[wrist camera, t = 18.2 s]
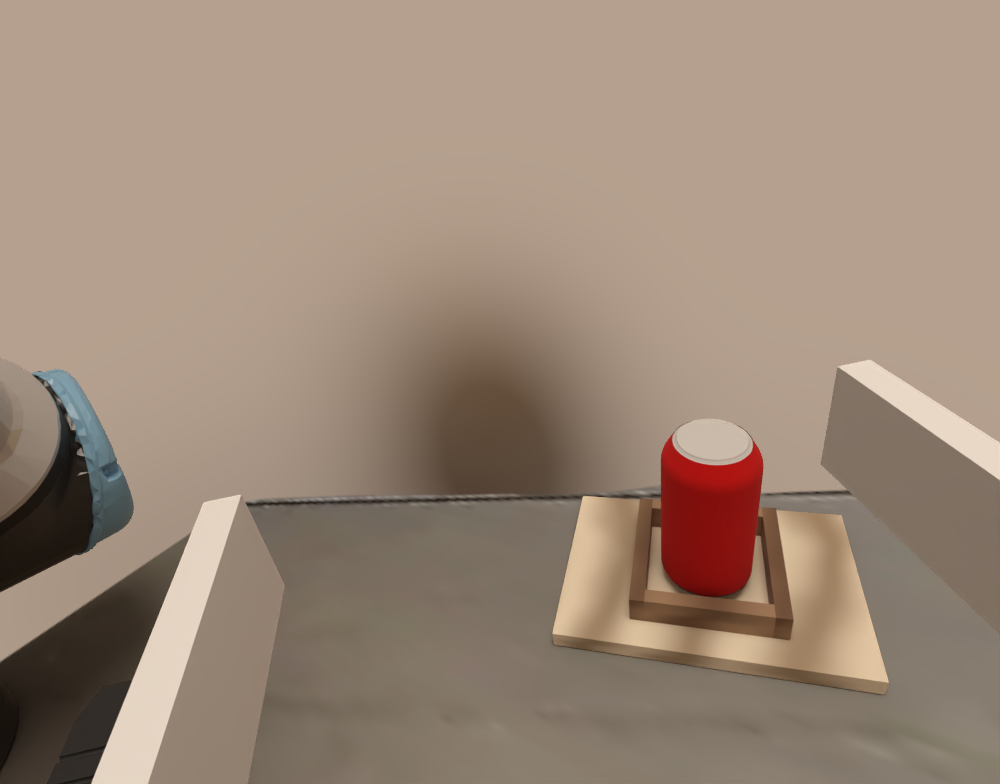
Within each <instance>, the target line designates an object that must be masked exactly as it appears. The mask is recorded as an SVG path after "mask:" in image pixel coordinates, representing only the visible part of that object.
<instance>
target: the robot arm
mask: <svg viewBox="0 0 1000 784" xmlns="http://www.w3.org/2000/svg"><path fill="white" fill-rule="evenodd" d="M821 465H822V466H823V467H824V468H825V469H826V470H827V471H829V473H830V474H832V475H833V476H834V477H835V478H836V479H837V480H838V481H839V482H840V483H841V484H842V485H843V486H844V487H845V488H846V489H847V490H848V491H849V492H850V493H852V494H853V495H854V496H855V497H856V498H857V499H858V500H859V501H860V502H861V503H862V504H863V505H864V506H865V507H866V508H867V509H868V510H869V511H870V512H871V513H873V514H874V515H875V516H876V517H877V518H878V519H879V520H880V521H881V522H882V523H883V524H884V525H885V526H886V527H887V528H888V529H889V530H890V531H891V532H892V533H894V534H895V535H896V536H897V537H898V538H899V539H900V540H901V541H902V542H903V543H904V544H905V545H906V546H907V547H908V548H909V549H910V550H911V551H912V552H914V553H915V554H916V555H917V556H918V557H919V558H920V559H921V560H922V561H923V562H924V563H925V564H926V565H927V566H928V567H929V568H930V569H931V570H932V571H933V572H935V573H936V574H937V575H938V576H939V577H940V578H941V579H942V580H943V581H944V582H945V583H946V584H947V585H948V586H949V587H950V588H951V589H952V590H953V591H954V592H956V593H957V594H958V595H959V596H960V597H961V598H962V599H963V600H964V601H965V602H966V603H967V604H968V605H969V606H970V607H971V608H972V609H973V610H974V611H976V612H977V613H978V614H979V615H980V616H981V617H982V618H983V619H984V620H985V621H986V622H987V623H988V624H989V625H990V626H991V627H992V628H993V629H994V630H995V631H997V632H998V633H999V634H1000V443H999V442H998V441H996V440H994V439H993V438H991V437H990V436H988V435H987V434H985V433H984V432H982V431H981V430H979V429H977V428H976V427H974V426H973V425H971V424H970V423H968V422H967V421H965V420H963V419H962V418H960V417H958V416H957V415H956V414H954V413H952V412H951V411H949V410H948V409H946V408H945V407H943V406H941V405H940V404H938V403H937V402H935V401H933V400H932V399H931V398H929V397H927V396H926V395H924V394H923V393H921V392H920V391H918V390H916V389H915V388H913V387H912V386H910V385H909V384H907V383H905V382H904V381H902V380H901V379H899V378H898V377H896V376H895V375H893V374H891V373H890V372H888V371H887V370H885V369H884V368H882V367H880V366H879V365H877V364H876V363H874V362H873V361H871V360H866V361H861V362H857V363H852V364H847V365H843V366H838V368H837V374H836V379H835V385H834V391H833V396H832V402H831V408H830V414H829V419H828V425H827V431H826V437H825V443H824V449H823V454H822V460H821ZM133 509H134V506H133V500H132V496H131V492H130V490H129V487H128V484H127V481H126V479H125V476H124V474H123V472H122V470H121V468H120V466H119V465H118V464H117V459H116V457H115V454H114V452H113V448H112V446H111V444H110V442H109V439H108V437H107V435H106V433H105V431H104V429H103V427H102V425H101V423H100V421H99V419H98V417H97V415H96V413H95V411H94V409H93V408H92V406H91V404H90V402H89V400H88V399H87V397H86V395H85V394H84V392H83V390H82V388H81V387H80V385H79V384H78V382H77V381H76V379H75V378H73V377H72V376H71V375H70V374H69V373H67V372H65V371H63V370H58V369H55V370H50V371H46V372H41V371H38V372H33V373H30V372H28V371H26V370H25V369H23V368H21V367H20V366H18V365H16V364H14V363H12V362H9V361H7V360H4V359H1V358H0V592H2V591H4V590H6V589H8V588H10V587H12V586H14V585H16V584H18V583H20V582H22V581H23V580H26V579H28V578H30V577H32V576H34V575H36V574H38V573H40V572H42V571H44V570H46V569H48V568H50V567H52V566H54V565H56V564H58V563H60V562H62V561H64V560H66V559H68V558H70V557H72V556H74V555H81V554H83V553H86V552H88V551H89V550H90V549H92V548H93V547H94V546H95V545H96V543H98V542H100V541H102V540H103V539H105V538H107V537H109V536H111V535H113V534H114V533H116V532H118V531H119V530H121V529H123V528H124V527H125V526H126V525H127V524H128V523H129V521H130V519H131V517H132V515H133ZM284 587H285V585H284V583H283V581H282V579H281V577H280V575H279V572H278V570H277V568H276V566H275V564H274V562H273V560H272V558H271V556H270V554H269V551H268V549H267V547H266V545H265V543H264V541H263V539H262V537H261V535H260V532H259V530H258V528H257V526H256V524H255V522H254V520H253V518H252V516H251V514H250V511H249V509H248V507H247V505H246V503H245V501H244V499H243V497H242V495H236V496H231V497H227V498H222V499H218V500H213V501H208V502H204V503H203V505H202V508H201V511H200V513H199V516H198V518H197V520H196V523H195V525H194V528H193V530H192V533H191V535H190V538H189V540H188V543H187V545H186V548H185V550H184V553H183V555H182V558H181V560H180V563H179V565H178V568H177V570H176V573H175V575H174V578H173V580H172V583H171V585H170V588H169V590H168V593H167V595H166V598H165V600H164V603H163V605H162V608H161V610H160V613H159V615H158V618H157V620H156V623H155V625H154V628H153V630H152V633H151V635H150V638H149V640H148V643H147V645H146V648H145V650H144V653H143V655H142V658H141V660H140V663H139V665H138V668H137V670H136V673H135V675H134V678H133V680H131V681H127V682H122V683H118V684H114V685H110V686H105V687H103V688H102V689H101V690H100V692H99V693H98V694H97V695H96V696H95V698H94V699H93V700H92V701H91V703H90V704H89V705H88V706H87V708H86V709H85V710H84V711H83V713H82V714H81V715H80V716H79V718H78V719H77V720H76V722H75V724H74V726H73V728H72V730H71V733H70V735H69V737H68V739H67V741H66V743H65V746H64V748H63V750H62V752H61V754H60V756H59V757H60V762H59V763H58V764H56V765H55V767H54V770H53V772H52V774H51V776H50V778H49V780H48V783H47V784H248V779H249V774H250V768H251V763H252V758H253V752H254V747H255V742H256V736H257V731H258V726H259V720H260V715H261V710H262V704H263V699H264V694H265V688H266V683H267V677H268V672H269V667H270V661H271V656H272V651H273V645H274V640H275V635H276V629H277V624H278V619H279V613H280V608H281V603H282V597H283V592H284ZM17 723H18V708H17V704H16V701H15V699H14V697H13V695H12V694H11V693H10V692H9V691H8V689H7V688H6V687H5V686H4V685H3V684H2V683H1V682H0V767H1V765H2V763H3V762H4V760H5V758H6V756H7V754H8V752H9V749H10V747H11V745H12V742H13V739H14V736H15V732H16V729H17Z"/></svg>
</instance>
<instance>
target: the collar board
mask: <svg viewBox="0 0 1000 784" xmlns="http://www.w3.org/2000/svg"><path fill="white" fill-rule="evenodd" d="M552 635H553V642H554V645H559V646H566V647H572V648H579V649H585V650H592V651H599V652H605V653H612V654H618V655H625V656H632V657H638V658H645V659H652V660H658V661H665V662H671V663H678V664H685V665H691V666H698V667H704V668H711V669H718V670H724V671H731V672H737V673H744V674H751V675H757V676H764V677H770V678H777V679H784V680H790V681H797V682H804V683H810V684H817V685H823V686H830V687H837V688H843V689H850V690H856V691H863V692H870V693H876V694H883V695H885V693H886V690H887V687H888V684H889V682H888V678H887V675H886V671H885V667H884V664H883V660H882V657H881V653H880V650H879V646H878V643H877V639H876V636H875V632H874V629H873V625H872V622H871V618H870V614H869V611H868V607H867V604H866V600H865V597H864V593H863V590H862V586H861V583H860V579H859V576H858V572H857V569H856V565H855V561H854V558H853V554H852V551H851V547H850V544H849V540H848V537H847V533H846V530H845V526H844V523H843V519H842V516H841V515H831V514H818V513H804V512H791V511H778V510H776V508H762V507H759V511H758V520H757V529H756V538H755V547H754V556H753V565H752V573H751V576H750V578H749V580H748V582H747V583H746V585H745V586H744V587H743V589H741V590H740V591H739V592H738V593H736V594H734V595H732V596H729V597H725V598H714V597H706V596H697V595H692V594H689V593H687V592H685V591H684V590H682V589H681V588H679V587H678V586H677V585H676V584H674V583H673V581H672V580H671V579H670V578H669V576H668V575H667V573H666V571H665V570H664V567H663V565H662V560H661V500H654V499H641V498H640V500H631V499H617V498H604V497H591V496H583V499H582V504H581V508H580V513H579V517H578V522H577V526H576V530H575V535H574V539H573V544H572V548H571V553H570V557H569V562H568V566H567V570H566V575H565V579H564V584H563V588H562V593H561V597H560V602H559V606H558V610H557V615H556V619H555V624H554V628H553V633H552Z"/></svg>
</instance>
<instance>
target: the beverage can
mask: <svg viewBox="0 0 1000 784" xmlns="http://www.w3.org/2000/svg"><path fill="white" fill-rule="evenodd" d="M762 475H763V459H762V456H761V453H760V451H759V449H758V447H757V445H756V444H755V442H754V441H753V439H752V438H751V436H750V435H749V434H748V433H747V432H746V431H745V430H744V429H743V428H741V427H739V426H738V425H735V424H733V423H730V422H727V421H723V420H718V419H699V420H694V421H690V422H687V423H685V424H683V425H681V426H680V427H679V428H677V429H676V430H675V432H674V433H673V434H672V435H671V437H670V438H669V439H668V441H667V442H666V444H665V446H664V448H663V451H662V454H661V560H662V565H663V567H664V570H665V571H666V573H667V575H668V576H669V578H670V579H671V580H672V581H673V583H674V584H676V585H677V586H678V587H679V588H681V589H682V590H684V591H685V592H687V593H689V594H692V595H697V596H706V597H714V598H725V597H729V596H732V595H734V594H736V593H738V592H739V591H740V590H741V589H743V587H744V586H745V585H746V583H747V582H748V580H749V578H750V576H751V573H752V565H753V556H754V547H755V538H756V529H757V520H758V511H759V502H760V493H761V484H762Z"/></svg>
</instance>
